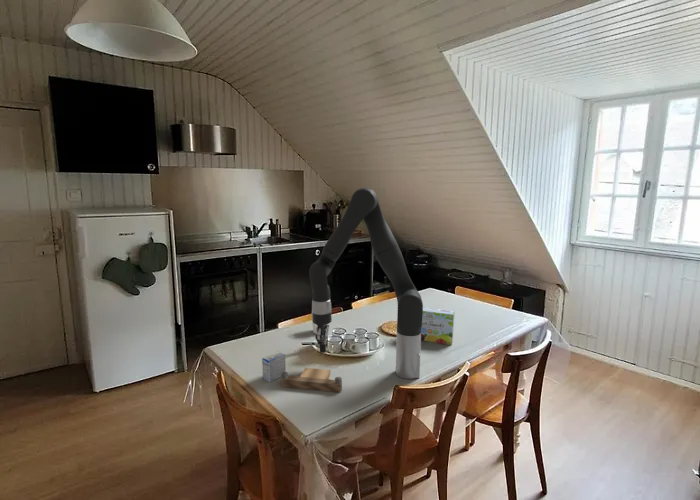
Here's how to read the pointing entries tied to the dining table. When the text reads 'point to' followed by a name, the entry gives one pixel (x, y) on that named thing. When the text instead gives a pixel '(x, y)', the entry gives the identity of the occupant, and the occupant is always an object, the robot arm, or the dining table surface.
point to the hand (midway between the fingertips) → (323, 351)
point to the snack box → (437, 326)
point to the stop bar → (311, 383)
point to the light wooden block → (316, 373)
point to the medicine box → (273, 366)
